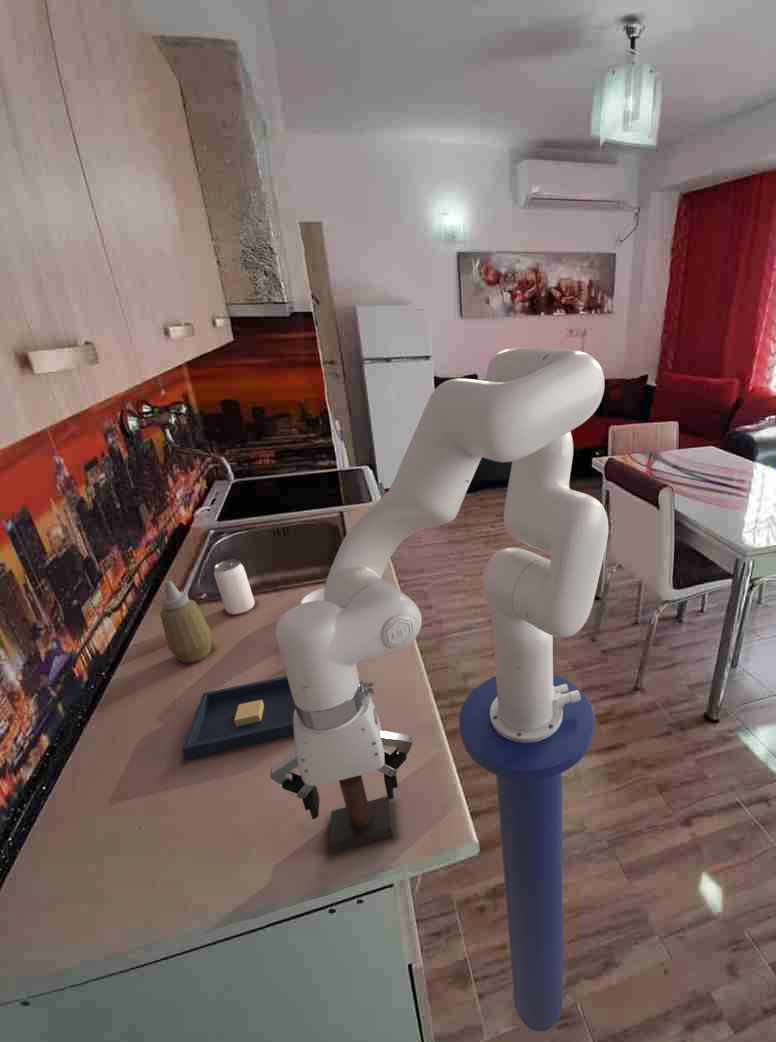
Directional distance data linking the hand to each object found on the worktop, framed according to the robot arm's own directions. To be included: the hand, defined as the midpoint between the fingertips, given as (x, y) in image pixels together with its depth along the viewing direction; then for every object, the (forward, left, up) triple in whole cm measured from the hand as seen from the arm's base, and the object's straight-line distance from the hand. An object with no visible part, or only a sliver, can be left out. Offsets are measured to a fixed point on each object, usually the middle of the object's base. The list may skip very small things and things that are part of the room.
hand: (353, 799), depth 68 cm
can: (+28, -69, -6) cm, 74 cm away
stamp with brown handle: (0, 0, -6) cm, 6 cm away
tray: (+18, -28, -6) cm, 34 cm away
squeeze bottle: (+34, -52, -6) cm, 62 cm away
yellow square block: (+19, -28, -6) cm, 34 cm away
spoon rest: (+7, -54, -6) cm, 55 cm away
